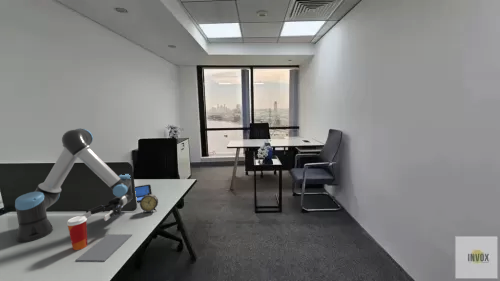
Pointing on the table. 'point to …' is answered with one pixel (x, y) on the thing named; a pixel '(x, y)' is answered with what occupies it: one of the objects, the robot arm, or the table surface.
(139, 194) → the handheld game console
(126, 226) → the table surface
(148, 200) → the alarm clock
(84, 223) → the coffee cup
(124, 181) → the robot arm
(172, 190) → the table surface
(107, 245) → the mat
